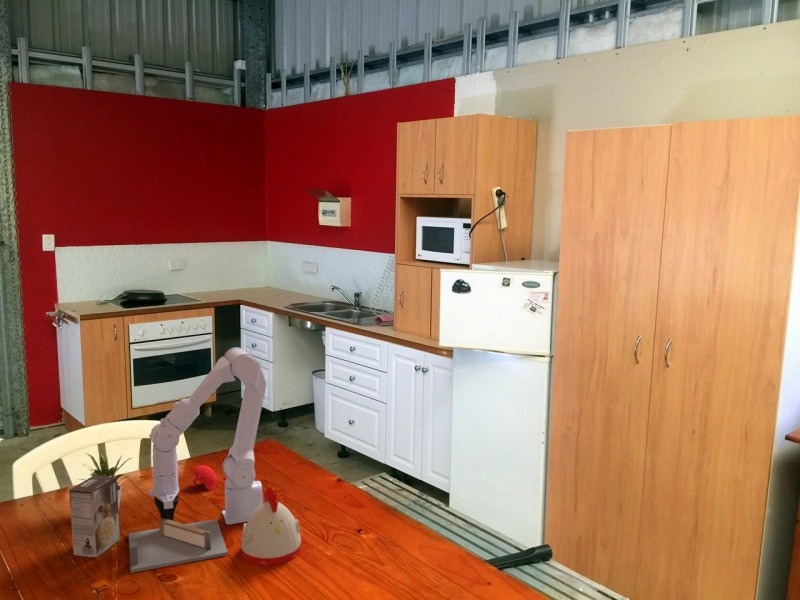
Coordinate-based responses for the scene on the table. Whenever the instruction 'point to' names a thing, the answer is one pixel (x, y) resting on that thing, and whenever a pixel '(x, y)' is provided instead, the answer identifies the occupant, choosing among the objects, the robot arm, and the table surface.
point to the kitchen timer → (271, 533)
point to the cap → (205, 477)
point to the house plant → (107, 471)
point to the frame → (173, 547)
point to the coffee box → (94, 515)
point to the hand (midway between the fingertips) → (167, 524)
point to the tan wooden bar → (182, 532)
